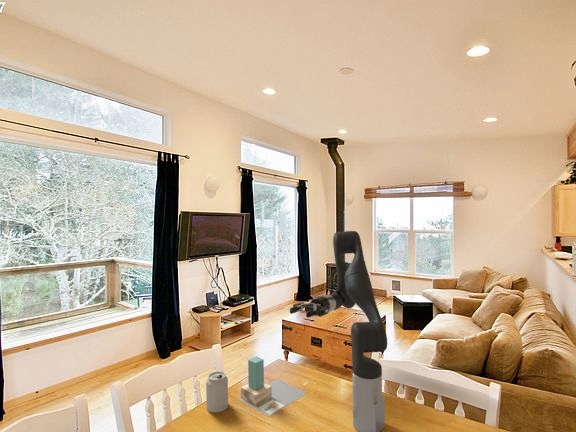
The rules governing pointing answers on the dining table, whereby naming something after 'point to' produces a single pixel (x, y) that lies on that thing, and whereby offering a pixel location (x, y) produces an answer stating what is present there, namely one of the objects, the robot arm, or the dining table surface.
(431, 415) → the dining table surface
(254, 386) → the pillar
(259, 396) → the base block
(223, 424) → the dining table surface
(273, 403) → the mat
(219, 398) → the can
